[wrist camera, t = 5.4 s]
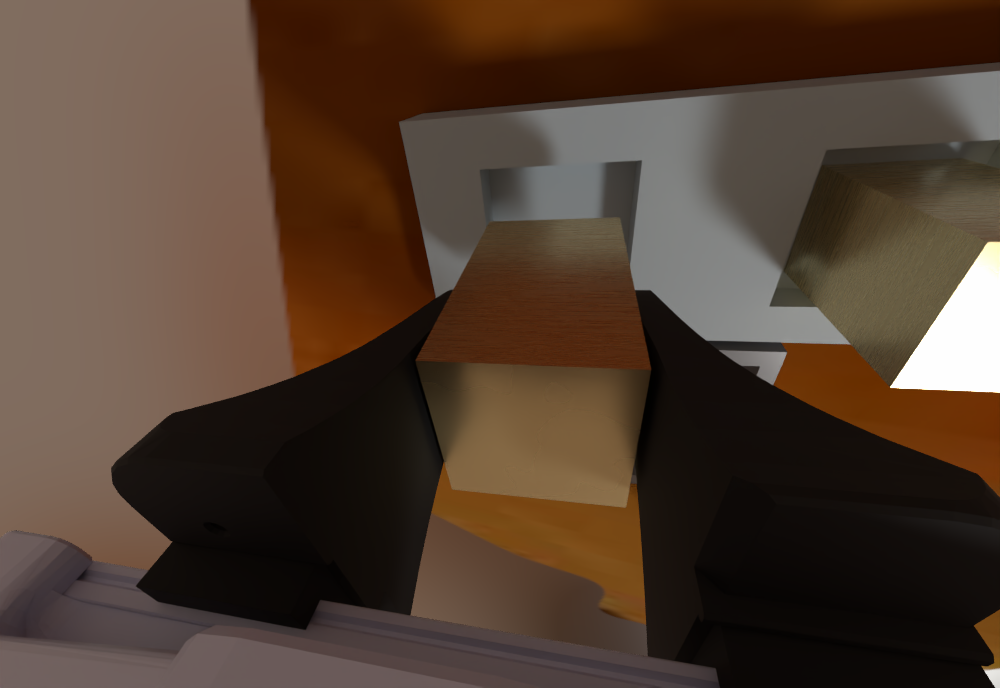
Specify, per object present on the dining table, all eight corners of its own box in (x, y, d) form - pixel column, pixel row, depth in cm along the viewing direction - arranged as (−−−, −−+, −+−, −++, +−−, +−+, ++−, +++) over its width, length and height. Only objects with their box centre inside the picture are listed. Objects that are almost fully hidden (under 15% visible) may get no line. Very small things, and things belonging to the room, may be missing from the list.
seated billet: (898, 270, 15) (1081, 395, 10) (783, 270, 16) (890, 387, 10) (961, 158, 13) (1251, 237, 7) (822, 165, 13) (988, 242, 8)
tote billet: (609, 327, 14) (625, 507, 9) (501, 324, 15) (452, 489, 9) (620, 217, 12) (651, 369, 6) (489, 221, 12) (415, 360, 7)
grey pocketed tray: (950, 312, 17) (1000, 347, 15) (456, 307, 21) (443, 333, 19) (1131, 50, 11) (1245, 49, 9) (422, 113, 16) (398, 122, 14)
